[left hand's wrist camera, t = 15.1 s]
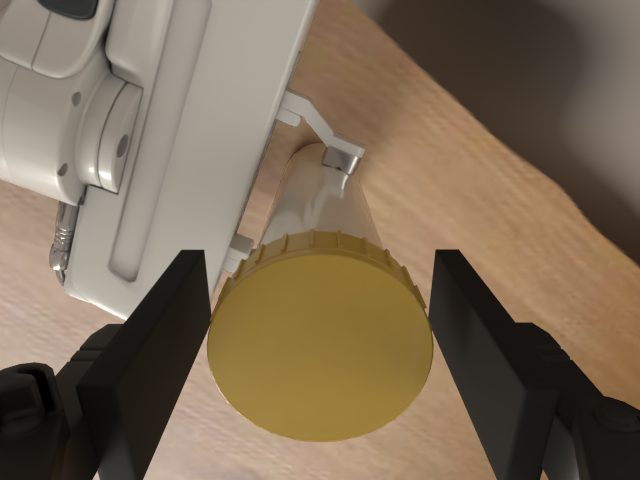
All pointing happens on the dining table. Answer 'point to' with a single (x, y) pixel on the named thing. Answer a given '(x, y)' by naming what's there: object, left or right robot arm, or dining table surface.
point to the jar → (318, 200)
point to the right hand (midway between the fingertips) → (335, 212)
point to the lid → (320, 337)
